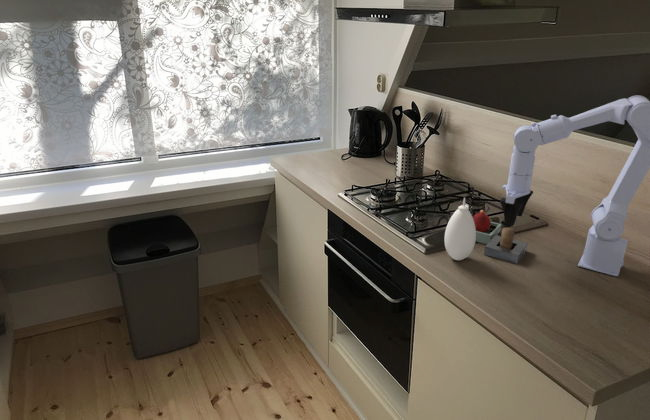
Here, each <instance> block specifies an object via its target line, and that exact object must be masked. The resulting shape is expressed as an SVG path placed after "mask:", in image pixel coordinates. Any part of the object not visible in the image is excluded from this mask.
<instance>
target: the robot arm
mask: <svg viewBox="0 0 650 420" xmlns="http://www.w3.org/2000/svg"><path fill="white" fill-rule="evenodd" d="M625 120H626V121H627V123H628V124H629V126H631V128H632V130H633V131H634V133H635V135H636V137H637V141H636V143H635V145H634V147H633V149H632V150H631V152H630V154H629V156H628V158H627V160H626V161H625V164H624V166H622V168H621V170H620V173H619V175H618V176H617V178H616V180H615V182H614V184H613V186H612V187H611V190H610V192H609V193H608V195H607V196H606V197H605V198H603V199H602V201H601V203H600V204H599V205H597V206H596V207H595V208H594V209H593V210H592V211H591V214H590V219H591V222H592V223H593V224H592V226H591V227H590V228H589V229H588V232H587V237H586V241H585V242H586V243H585V247H584V250H583V254H582V255H581V258H580V260H579V262H578V264H577V266H578V267H580V268H583V269H587V270H591V271H595V272H599V273H602V274H606V275H610V276H614V277H619V275H620V271H621V268H623V266H624V262H625V260H624V257H625V254H626V250H627V247H628V242H629V240H628V239H626V238H623V237H621V236H622V234H623V232H624V226H625V225H624V223H625V221H626V219H627V217H628V209H629V206H630V204H631V202H632V200H633V199H634V197H635V195H636V193H637V192H638V190H639V188H640V186H641V184H642V182H643V181H644V178H645V177H646V175H647V173H648V171H649V170H650V100H649V99H648V98H647V97H645V96H643V95H636V94H635V95H632V96H630V97H628V98H625V97H624V98H620V99H617V100H615V101H612V102H608V103H606V104H604V105H601V106H599V107H595V108H592V109H590V110H587V111H584V112H582V113H579V114H577V115H573V116H571V117H567V116H564V115H563V114H562V115H561V114H560V115H558V116H557V114H552V115H550V118H549V119H546V120H542V121H540V122H536V121H533V122H531V123H530V125H527V124H526V125H522V126H519V127H518V128H517V129H516V130H515V132H514V134H513V142H514V145H513V147H512V153H511V157H510V165H509V171H508V172H509V173H508V177H507V178H508V179H507V184H503V185H502V187H501V188H502V189H503V190H505V191H506V196H505V197H502V198H501V199H500V201H499V202H500V205H501V208H502V211H503V217H504V218H503V219H504V225H506V226H512V227H513V226H514V225H515V223H516V221H517V217H522V216H523V214H524V211H525V209H526V205H528V201H529V200H530V198H531V197H532V195H533V194H534V191H533V190H531V185H532V179H533V173H534V166H535V161H536V156H535V154H536V149H538V147H539V146H544V145H547V144H550V143H554V142H557V141H561V140H563V139H567V138H570V136H571V134H572V132H573V131H577V130H580V129H583V128H584V129H585V128H587V127H591V126H595V125H599V124H602V123H607V122H612V123H616V124H619V125H623V126H624V125H625Z"/></svg>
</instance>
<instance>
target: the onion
mask: <svg viewBox="0 0 650 420" xmlns="http://www.w3.org/2000/svg"><path fill="white" fill-rule="evenodd" d="M472 217H473V220H474V224H475V229H476V231H478V232H482V233H487V232H489V231H488V230H489V228H490V226H491V222H492V221H491V219H490V217H489V215H487V214H486V213H485V210H484V209H480V210H479V212H477V213H475V214H474V215H473V216H472Z"/></svg>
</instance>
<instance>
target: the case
mask: <svg viewBox="0 0 650 420" xmlns="http://www.w3.org/2000/svg"><path fill="white" fill-rule="evenodd" d="M491 225H493V226H495V227H496V228H495V229H494V230H493V231H492V232H489V233H487V232H485V233H482V232H478V231H476V240H475V243H476V242H477V243H480V244H483V245H484V244H485V245H487V244H488V243H489V242H490V241H491V240H492V238H493V237H494V236H495V235H498V233H499V232H500V233H501V231H502V223H498V222H494V221H491ZM498 236H499V235H498Z"/></svg>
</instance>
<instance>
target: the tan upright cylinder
mask: <svg viewBox="0 0 650 420" xmlns="http://www.w3.org/2000/svg"><path fill="white" fill-rule="evenodd" d="M500 236H501V241H500V247H503V248H507V249H510V250H512V244H513V239H515V238H514V236H515V229H513V228H511V227H503V228H501V233H500Z"/></svg>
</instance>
